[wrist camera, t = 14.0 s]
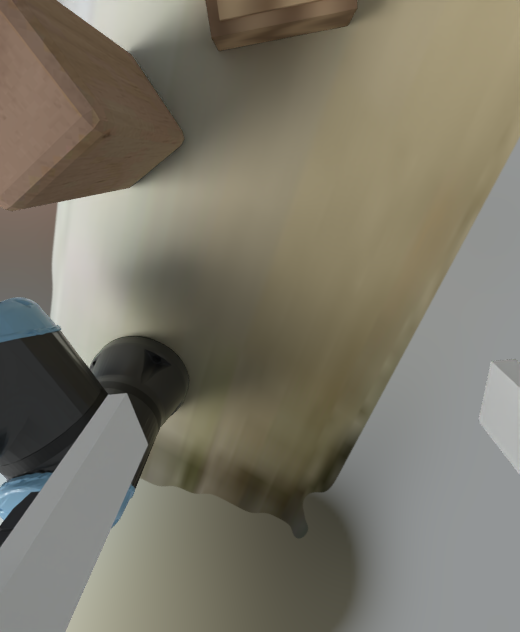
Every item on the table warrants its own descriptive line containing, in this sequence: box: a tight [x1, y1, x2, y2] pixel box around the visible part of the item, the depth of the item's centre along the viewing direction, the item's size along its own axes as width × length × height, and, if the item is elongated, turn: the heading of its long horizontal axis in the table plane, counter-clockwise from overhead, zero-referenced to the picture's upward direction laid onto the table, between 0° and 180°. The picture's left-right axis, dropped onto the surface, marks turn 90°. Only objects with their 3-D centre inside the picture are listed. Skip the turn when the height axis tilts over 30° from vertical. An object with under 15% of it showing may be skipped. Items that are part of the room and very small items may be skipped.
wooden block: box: [0, 0, 184, 211], centre depth 27 cm, size 10×10×20 cm
